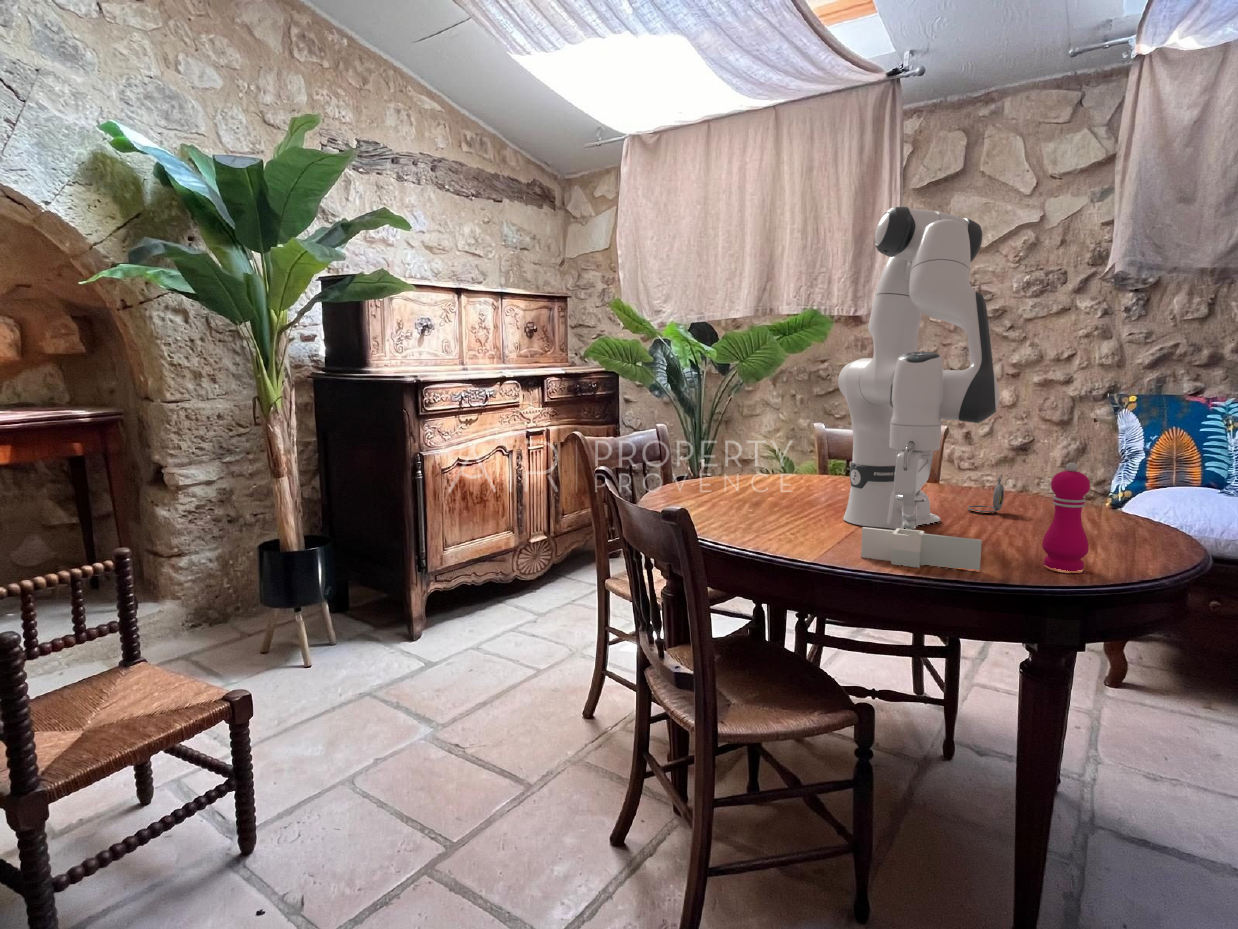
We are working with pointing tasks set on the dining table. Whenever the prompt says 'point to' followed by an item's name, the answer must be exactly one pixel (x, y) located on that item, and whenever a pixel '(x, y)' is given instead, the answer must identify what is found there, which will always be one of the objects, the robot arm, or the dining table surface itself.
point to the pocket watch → (995, 498)
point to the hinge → (920, 548)
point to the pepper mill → (1067, 521)
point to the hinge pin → (910, 520)
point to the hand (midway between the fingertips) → (910, 511)
